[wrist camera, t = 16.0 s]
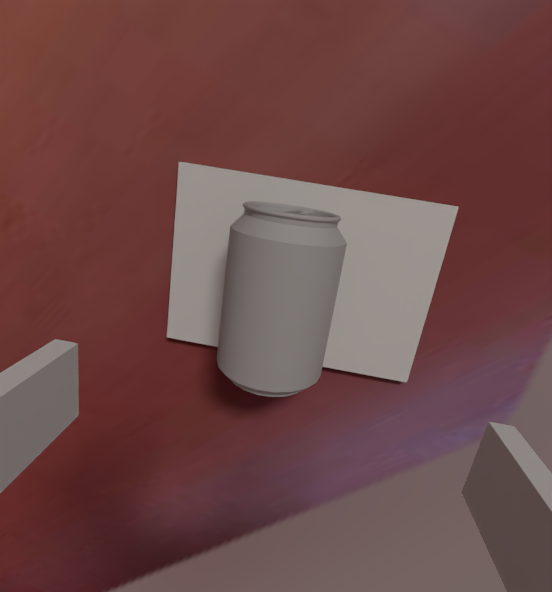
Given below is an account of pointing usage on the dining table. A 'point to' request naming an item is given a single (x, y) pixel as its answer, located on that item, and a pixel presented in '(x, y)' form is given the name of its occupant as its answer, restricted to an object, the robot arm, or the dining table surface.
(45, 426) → the robot arm
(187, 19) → the dining table surface
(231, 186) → the placemat
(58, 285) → the dining table surface
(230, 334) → the can
